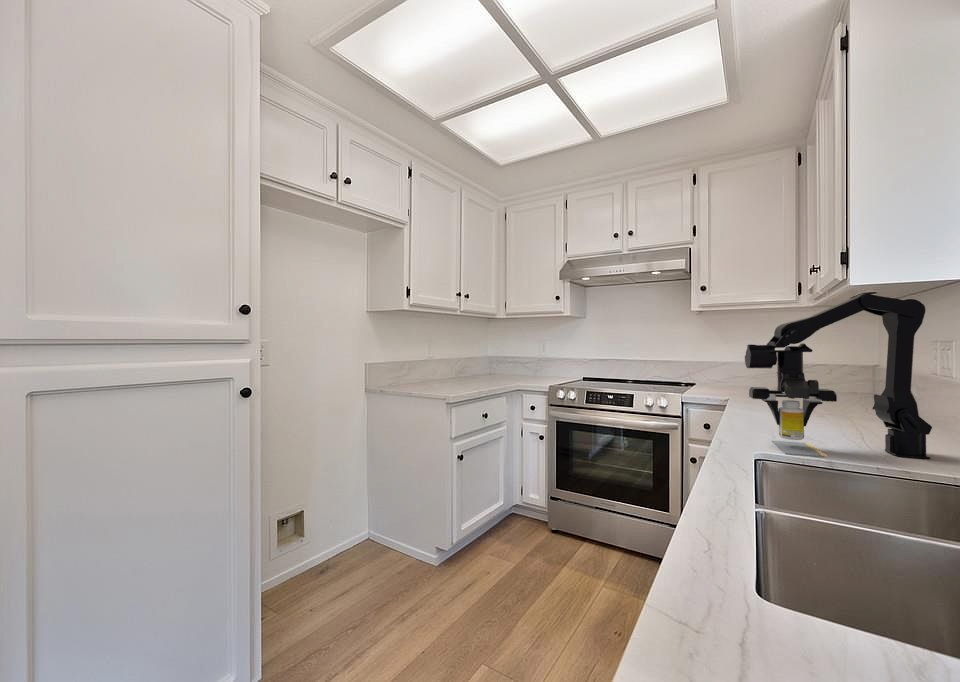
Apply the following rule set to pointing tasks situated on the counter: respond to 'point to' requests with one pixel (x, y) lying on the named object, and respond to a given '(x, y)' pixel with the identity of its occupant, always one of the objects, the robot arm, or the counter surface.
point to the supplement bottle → (791, 420)
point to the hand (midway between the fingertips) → (791, 425)
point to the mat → (799, 449)
